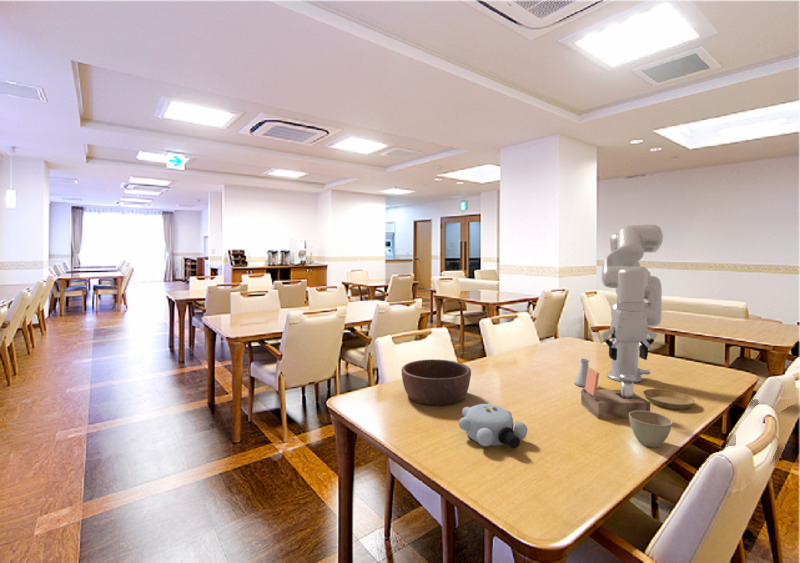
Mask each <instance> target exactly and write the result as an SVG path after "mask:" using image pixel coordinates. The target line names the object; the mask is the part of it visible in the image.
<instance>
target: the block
mask: <svg viewBox="0 0 800 563" xmlns="http://www.w3.org/2000/svg"><path fill="white" fill-rule="evenodd" d="M580 392H581V396H580V397H581V398H580V402H581V403H580V404H581V405H582V406H583V407H584V408H585V409H586V410H588V411H589V412H590V413H591V414H592V415H594V416H595V417H596V419H599V420H600V419H605V420H606V419H614V420H617V419H625V420H626V419H628V420H629V413H630V412H632V411H649V412H651V402H650V401H649V400H648V399H647V400H646V398H645V399H644V398H643V397H641V395H638V394H637V393H635V392H633V399H622V398H621V389H597V391H596V396H593V395H591V394H590V393H589V392H587V391H586V390H585V387H582V388H581V391H580Z"/></svg>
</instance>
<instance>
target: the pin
mask: <svg viewBox="0 0 800 563" xmlns="http://www.w3.org/2000/svg"><path fill="white" fill-rule="evenodd" d="M619 379H620V380H621V381H620V382H621V384H620V385H621V386H620V390H621V398H622V399H633V393H634V384H635V383H634V382H636V376H635V375H632V374H627V373H621V374H620V378H619ZM636 383H637V382H636Z"/></svg>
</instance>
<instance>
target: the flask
mask: <svg viewBox="0 0 800 563" xmlns="http://www.w3.org/2000/svg"><path fill="white" fill-rule="evenodd" d="M579 360H580V368H579V371H578V373H577V376H576V379H575V381H574V383H573V384H574V385H576V386H578V387H582V388H585V384H586V378H587V371H588V368H590V367H589V362H590V359H588V358H580V359H579Z"/></svg>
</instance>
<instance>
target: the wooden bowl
mask: <svg viewBox="0 0 800 563" xmlns="http://www.w3.org/2000/svg"><path fill="white" fill-rule="evenodd" d="M471 370H472V369H471V367H470V366H467V365H466V364H464V363H461V362H458V361H454V360H447V359H421V360H414V361H411V362H408V363H406V364H404V365H403V366H402V367H401V370H400V371H401V379H402V384H403V388H404V390H405V393H406V394H407V396H408V397H409V399H410V400H412V401H414V402H416V403H418V402H419V404H421V403H422V404H421V405H426V404H427V405H428V406H435V405H441V406H449V405H454V404H456V403H459V402H461V401H462V400H463V399H464V398H465V397H466V394H467V392H468V391H469V387H470V383H471V376H472V371H471Z"/></svg>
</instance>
